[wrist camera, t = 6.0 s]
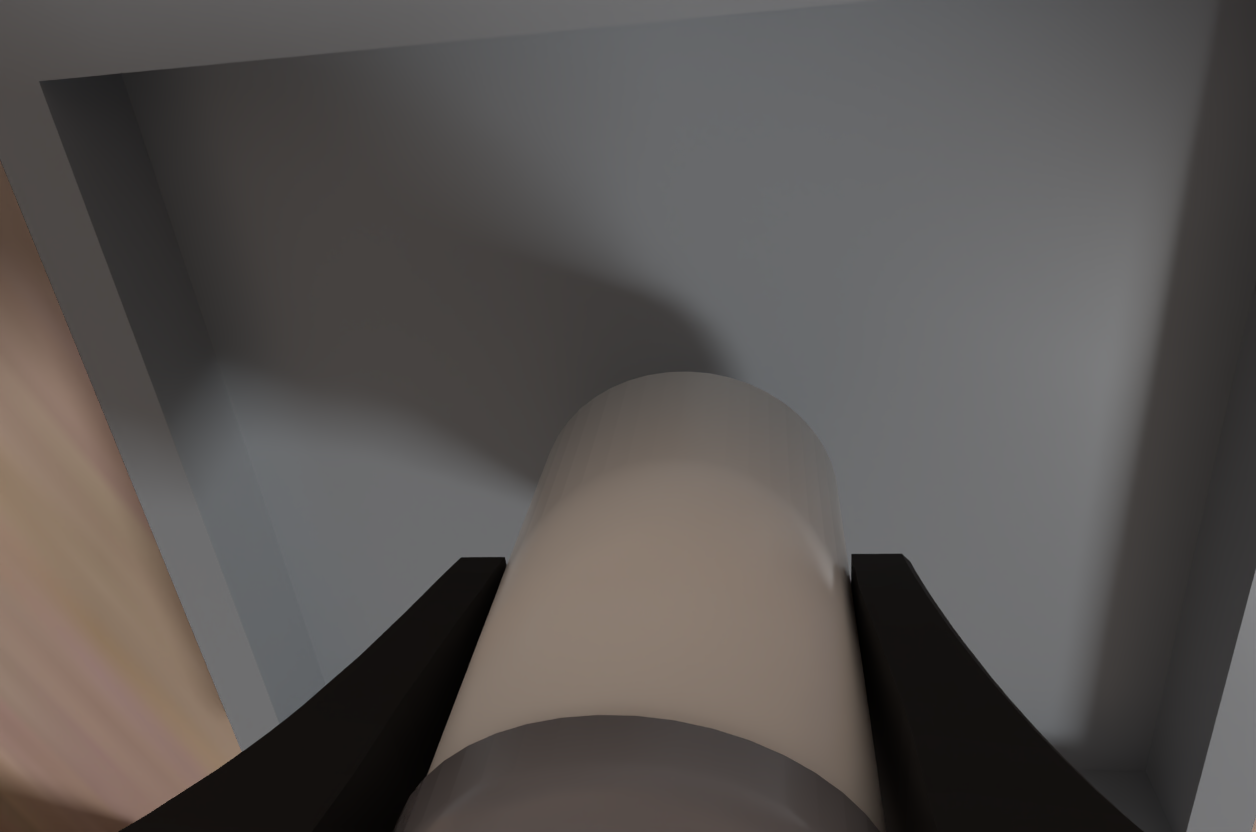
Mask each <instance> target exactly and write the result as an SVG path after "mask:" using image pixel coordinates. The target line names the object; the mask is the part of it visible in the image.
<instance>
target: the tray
mask: <svg viewBox="0 0 1256 832" xmlns="http://www.w3.org/2000/svg"><path fill="white" fill-rule="evenodd" d="M0 160H1V163H2V165H3V168H4V170H5V173H6V175H7V178H8V180H9V182H10V185H11V187H12V190H13V192H14V195H15V197H16V200H17V202H18V205H19V207H20V209H21V212H22V214H23V217H24V219H25V222H26V224H27V227H28V229H29V231H30V234H31V236H32V239H33V241H34V244H35V246H36V249H37V251H38V254H39V256H40V258H41V261H42V263H43V266H44V268H45V271H46V273H47V276H48V278H49V280H50V283H51V285H52V288H53V290H54V293H55V295H56V298H57V300H58V303H59V305H60V307H61V310H62V312H63V315H64V317H65V320H66V322H67V325H68V327H69V329H70V332H71V334H72V337H73V339H74V342H75V344H76V347H77V349H78V352H79V354H80V356H81V359H82V361H83V364H84V366H85V369H86V371H87V374H88V376H89V378H90V381H91V383H92V386H93V388H94V391H95V393H96V396H97V398H98V401H99V403H100V405H101V408H102V410H103V413H104V415H105V418H106V420H107V423H108V425H109V427H110V430H111V432H112V435H113V437H114V440H115V442H116V445H117V447H118V449H119V452H120V454H121V457H122V459H123V462H124V464H125V467H126V469H127V472H128V474H129V476H130V479H131V481H132V484H133V486H134V489H135V491H136V494H137V496H138V498H139V501H140V503H141V506H142V508H143V511H144V513H145V516H146V518H147V521H148V523H149V525H150V528H151V530H152V533H153V535H154V538H155V540H156V543H157V545H158V547H159V550H160V552H161V555H162V557H163V560H164V562H165V565H166V567H167V570H168V572H169V574H170V577H171V579H172V582H173V584H174V587H175V589H176V592H177V594H178V596H179V599H180V601H181V604H182V606H183V609H184V611H185V614H186V616H187V619H188V621H189V623H190V626H191V628H192V631H193V633H194V636H195V638H196V641H197V643H198V645H199V648H200V650H201V653H202V655H203V658H204V660H205V663H206V665H207V668H208V670H209V672H210V675H211V677H212V680H213V682H214V685H215V687H216V690H217V692H218V694H219V697H220V699H221V702H222V704H223V707H224V709H225V712H226V714H227V717H228V719H229V721H230V724H231V726H232V729H233V731H234V734H235V736H236V739H237V741H238V743H239V746H240V748H241V751H242V752H243V751H244V750H245V749H247V748H248V747H249V746H251V745H252V744H253V743H255V742H256V741H258V740H259V739H260V738H262V737H263V736H264V735H266V734H267V733H268V732H270V731H271V730H272V729H274V728H275V727H276V726H277V725H279V724H280V723H281V722H283V721H284V720H285V719H286V718H288V717H289V716H290V715H291V714H293V713H294V712H295V711H296V710H298V709H299V708H300V707H301V706H302V705H304V704H305V703H306V702H307V701H308V700H309V699H311V698H312V697H313V696H314V695H315V694H316V693H317V692H319V691H320V690H321V689H322V688H323V687H324V686H325V685H327V684H328V683H329V682H330V681H331V680H332V679H333V678H335V677H336V676H337V675H338V674H339V673H340V672H341V671H343V670H344V669H345V668H346V667H347V666H348V665H350V664H351V663H352V662H353V661H354V660H355V659H356V658H358V657H359V656H360V655H361V654H362V653H363V652H364V651H365V650H366V649H367V648H368V647H369V646H370V645H371V644H372V643H374V642H375V641H376V640H377V639H378V638H379V637H380V636H381V635H382V634H383V633H384V632H385V631H386V630H387V629H388V628H389V627H390V626H391V625H392V624H393V623H394V622H395V621H396V620H398V619H399V618H400V617H401V616H402V615H403V614H404V613H405V612H406V611H407V610H408V609H409V608H410V607H411V606H412V605H413V604H414V603H415V602H416V601H417V600H418V599H419V598H420V597H421V596H422V595H423V594H424V593H425V592H426V591H427V590H428V589H429V588H430V587H431V586H432V585H433V584H434V583H435V582H436V581H437V580H438V579H439V578H440V577H441V576H442V575H443V574H444V573H445V572H446V571H447V570H448V569H449V568H450V567H451V566H452V565H453V564H454V563H456V562H457V561H458V560H459V559H460V558H461V557H505V560H506V565H507V564H508V561H509V558H510V556H511V553H512V551H513V548H514V545H515V543H516V540H517V537H518V535H519V532H520V530H521V527H522V524H523V522H524V519H525V516H526V514H527V511H528V509H529V506H530V503H531V501H532V498H533V495H534V493H535V490H536V488H537V485H538V482H539V480H540V477H541V474H542V472H543V469H544V467H545V464H546V461H547V459H548V456H549V453H550V451H551V449H552V447H553V445H554V443H555V441H556V439H557V437H558V435H559V434H560V432H561V431H562V429H563V428H564V426H565V425H566V424H567V422H568V421H569V420H570V419H571V418H572V417H573V416H574V415H575V414H576V413H577V412H578V411H579V409H581V408H582V407H583V406H584V405H586V404H587V403H588V402H589V401H591V400H592V399H593V398H595V397H596V396H598V395H600V394H601V393H603V392H605V391H607V390H608V389H610V388H612V387H614V386H617V385H619V384H622V383H624V382H626V381H629V380H632V379H636V378H639V377H643V376H647V375H652V374H659V373H665V372H688V371H689V372H700V373H710V374H715V375H720V376H725V377H730V378H733V379H736V380H739V381H742V382H745V383H748V384H750V385H753V386H755V387H757V388H759V389H761V390H763V391H765V392H767V393H769V394H771V395H772V396H774V397H775V398H777V399H778V400H780V401H782V402H783V403H785V404H786V405H787V406H788V407H790V408H791V409H792V410H793V411H794V412H796V413H797V414H798V415H799V416H800V417H801V418H802V419H803V420H804V421H805V422H806V423H807V424H808V426H809V427H810V428H811V429H812V430H813V431H814V433H815V434H816V436H817V437H818V439H819V440H820V442H821V443H822V445H823V446H824V448H825V450H826V452H827V454H828V456H829V459H830V461H831V463H832V466H833V470H834V473H835V476H836V481H837V488H838V495H839V502H840V509H841V516H842V523H843V530H844V537H845V544H846V552H847V559H848V566H849V573H850V580H851V554H901V553H902V554H903V555H904V556H905V557H906V558H907V559H908V560H909V561H910V562H911V564H912V565H913V567H914V569H915V571H916V572H917V574H918V576H919V577H920V579H921V581H922V582H923V584H924V585H925V587H926V589H927V590H928V592H929V593H930V595H931V596H932V598H933V599H934V601H935V602H936V604H937V605H938V607H939V608H940V609H941V611H942V612H943V614H944V615H945V617H946V618H947V619H948V621H949V622H950V624H951V625H952V627H953V628H954V629H955V631H956V632H957V633H958V635H959V636H960V637H961V639H962V640H963V641H964V643H965V644H966V645H967V647H968V648H969V649H970V650H971V652H972V653H973V654H974V655H975V657H976V658H977V659H978V661H979V662H980V663H981V664H982V666H983V667H984V668H985V669H986V671H987V672H988V673H989V675H990V676H991V677H992V678H993V679H994V681H995V682H996V683H997V684H998V685H999V687H1000V688H1001V689H1002V690H1003V691H1004V693H1005V694H1006V695H1007V696H1008V697H1009V699H1010V700H1011V701H1012V702H1013V703H1014V704H1015V705H1016V706H1017V708H1018V709H1019V710H1020V711H1021V712H1022V713H1023V714H1024V715H1025V717H1026V718H1027V719H1028V720H1029V721H1030V722H1031V723H1032V724H1033V726H1034V727H1035V728H1036V729H1037V730H1038V731H1039V732H1040V733H1041V734H1042V735H1043V736H1044V737H1045V738H1046V739H1047V740H1048V742H1049V743H1050V744H1051V745H1052V746H1053V747H1054V748H1055V749H1056V750H1057V751H1058V752H1059V753H1060V754H1061V755H1062V756H1063V757H1064V758H1065V759H1066V760H1067V761H1068V762H1069V763H1070V764H1071V765H1072V766H1073V767H1074V768H1075V769H1076V770H1077V771H1078V772H1079V773H1080V774H1081V775H1082V776H1083V777H1084V778H1085V779H1086V780H1088V781H1089V782H1090V783H1091V784H1092V785H1093V786H1094V787H1095V788H1096V789H1097V790H1098V791H1099V792H1100V793H1101V794H1102V795H1103V796H1104V797H1106V798H1107V799H1108V800H1109V801H1110V802H1111V803H1112V804H1113V805H1114V806H1116V807H1117V808H1118V809H1119V810H1120V811H1121V812H1122V813H1123V814H1124V815H1125V816H1127V817H1128V818H1129V819H1130V820H1131V821H1132V822H1133V823H1134V824H1135V825H1137V826H1138V827H1139V828H1140V829H1141V830H1143V831H1144V832H1251V831H1252V827H1253V824H1254V821H1255V818H1256V0H0Z"/></svg>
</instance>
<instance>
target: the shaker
mask: <svg viewBox="0 0 1256 832" xmlns="http://www.w3.org/2000/svg"><path fill="white" fill-rule="evenodd" d="M393 832H886V828H885V821H884V814H883V807H882V800H881V793H880V786H879V779H878V771H877V764H876V757H875V750H874V743H873V736H872V729H871V722H870V715H869V708H868V701H867V693H866V686H865V679H864V672H863V665H862V658H861V651H860V644H859V637H858V630H857V623H856V616H855V608H854V601H853V594H852V587H851V580H850V573H849V566H848V559H847V552H846V544H845V537H844V530H843V523H842V516H841V509H840V502H839V495H838V488H837V481H836V476H835V473H834V470H833V466H832V463H831V461H830V459H829V456H828V454H827V452H826V450H825V448H824V446H823V445H822V443H821V442H820V440H819V439H818V437H817V436H816V434H815V433H814V431H813V430H812V429H811V428H810V427H809V426H808V424H807V423H806V422H805V421H804V420H803V419H802V418H801V417H800V416H799V415H798V414H797V413H796V412H794V411H793V410H792V409H791V408H790V407H788V406H787V405H786V404H785V403H783V402H782V401H780V400H778V399H777V398H775V397H774V396H772V395H771V394H769V393H767V392H765V391H763V390H761V389H759V388H757V387H755V386H753V385H750V384H748V383H745V382H742V381H739V380H736V379H733V378H730V377H725V376H720V375H715V374H710V373H700V372H689V371H688V372H665V373H659V374H652V375H647V376H643V377H639V378H636V379H632V380H629V381H626V382H624V383H622V384H619V385H617V386H614V387H612V388H610V389H608V390H607V391H605V392H603V393H601V394H600V395H598V396H596V397H595V398H593V399H592V400H591V401H589V402H588V403H587V404H586V405H584V406H583V407H582V408H581V409H579V411H578V412H577V413H576V414H575V415H574V416H573V417H572V418H571V419H570V420H569V421H568V422H567V424H566V425H565V426H564V428H563V429H562V431H561V432H560V434H559V435H558V437H557V439H556V441H555V443H554V445H553V447H552V449H551V451H550V453H549V456H548V459H547V461H546V464H545V467H544V469H543V472H542V474H541V477H540V480H539V482H538V485H537V488H536V490H535V493H534V495H533V498H532V501H531V503H530V506H529V509H528V511H527V514H526V516H525V519H524V522H523V524H522V527H521V530H520V532H519V535H518V537H517V540H516V543H515V545H514V548H513V551H512V553H511V556H510V558H509V561H508V564H507V566H506V569H505V572H504V574H503V577H502V579H501V582H500V585H499V587H498V590H497V593H496V595H495V598H494V600H493V603H492V606H491V608H490V611H489V614H488V616H487V619H486V621H485V624H484V627H483V629H482V632H481V635H480V637H479V640H478V642H477V645H476V648H475V650H474V653H473V656H472V658H471V661H470V664H469V666H468V669H467V671H466V674H465V677H464V679H463V682H462V685H461V687H460V690H459V692H458V695H457V698H456V700H455V703H454V706H453V708H452V711H451V713H450V716H449V719H448V721H447V724H446V727H445V729H444V732H443V734H442V737H441V740H440V742H439V745H438V748H437V750H436V753H435V755H434V758H433V761H432V763H431V766H430V769H429V771H428V774H427V776H426V777H425V778H424V779H423V780H422V781H421V783H420V784H419V785H418V786H417V788H416V789H415V790H414V791H413V793H412V794H411V795H410V796H409V798H408V800H407V802H406V804H405V806H404V808H403V810H402V812H401V814H400V816H399V818H398V820H397V823H396V825H395V828H394V830H393Z"/></svg>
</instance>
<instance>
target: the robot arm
mask: <svg viewBox="0 0 1256 832" xmlns="http://www.w3.org/2000/svg"><path fill="white" fill-rule="evenodd" d="M506 566H507V565H506V560H505V557H461V558H460V559H459V560H458V561H457V562H456V563H454V564H453V565H452V566H451V567H450V568H449V569H448V570H447V571H446V572H445V573H444V574H443V575H442V576H441V577H440V578H439V579H438V580H437V581H436V582H435V583H434V584H433V585H432V586H431V587H430V588H429V589H428V590H427V591H426V592H425V593H424V594H423V595H422V596H421V597H420V598H419V599H418V600H417V601H416V602H415V603H414V604H413V605H412V606H411V607H410V608H409V609H408V610H407V611H406V612H405V613H404V614H403V615H402V616H401V617H400V618H399V619H398V620H396V621H395V622H394V623H393V624H392V625H391V626H390V627H389V628H388V629H387V630H386V631H385V632H384V633H383V634H382V635H381V636H380V637H379V638H378V639H377V640H376V641H375V642H374V643H372V644H371V645H370V646H369V647H368V648H367V649H366V650H365V651H364V652H363V653H362V654H361V655H360V656H359V657H358V658H356V659H355V660H354V661H353V662H352V663H351V664H350V665H348V666H347V667H346V668H345V669H344V670H343V671H341V672H340V673H339V674H338V675H337V676H336V677H335V678H333V679H332V680H331V681H330V682H329V683H328V684H327V685H325V686H324V687H323V688H322V689H321V690H320V691H319V692H317V693H316V694H315V695H314V696H313V697H312V698H311V699H309V700H308V701H307V702H306V703H305V704H304V705H302V706H301V707H300V708H299V709H298V710H296V711H295V712H294V713H293V714H291V715H290V716H289V717H288V718H286V719H285V720H284V721H283V722H281V723H280V724H279V725H277V726H276V727H275V728H274V729H272V730H271V731H270V732H268V733H267V734H266V735H264V736H263V737H262V738H260V739H259V740H258V741H256V742H255V743H253V744H252V745H251V746H249V747H248V748H247V749H245V750H244V751H243V752H241V753H240V754H238V755H237V756H236V757H234V758H233V759H232V760H230V761H229V762H227V763H226V764H224V765H223V766H222V767H220V768H219V769H217V770H216V771H214V772H213V773H211V774H210V775H208V776H206V777H205V778H203V779H202V780H200V781H199V782H197V783H196V784H194V785H192V786H191V787H189V788H188V789H186V790H185V791H183V792H182V793H180V794H179V795H177V796H175V797H174V798H172V799H171V800H169V801H168V802H166V803H165V804H163V805H161V806H160V807H158V808H157V809H155V810H154V811H152V812H151V813H149V814H148V815H146V816H144V817H143V818H141V819H139V820H138V821H136V822H134V823H133V824H131V825H129V826H127V827H126V828H124V829H122V830H120V831H119V832H393V830H394V828H395V825H396V823H397V820H398V818H399V816H400V814H401V812H402V810H403V808H404V806H405V804H406V802H407V800H408V798H409V796H410V795H411V794H412V793H413V791H414V790H415V789H416V788H417V786H418V785H419V784H420V783H421V781H422V780H423V779H424V778H425V777H426V776H427V774H428V771H429V769H430V766H431V763H432V761H433V758H434V755H435V753H436V750H437V748H438V745H439V742H440V740H441V737H442V734H443V732H444V729H445V727H446V724H447V721H448V719H449V716H450V713H451V711H452V708H453V706H454V703H455V700H456V698H457V695H458V692H459V690H460V687H461V685H462V682H463V679H464V677H465V674H466V671H467V669H468V666H469V664H470V661H471V658H472V656H473V653H474V650H475V648H476V645H477V642H478V640H479V637H480V635H481V632H482V629H483V627H484V624H485V621H486V619H487V616H488V614H489V611H490V608H491V606H492V603H493V600H494V598H495V595H496V593H497V590H498V587H499V585H500V582H501V579H502V577H503V574H504V572H505V569H506ZM851 587H852V594H853V601H854V608H855V616H856V623H857V630H858V637H859V644H860V651H861V658H862V665H863V672H864V679H865V686H866V693H867V701H868V708H869V715H870V722H871V729H872V736H873V743H874V750H875V757H876V764H877V771H878V779H879V786H880V793H881V800H882V807H883V814H884V821H885V828H886V832H1144V831H1143V830H1141V829H1140V828H1139V827H1138V826H1137V825H1135V824H1134V823H1133V822H1132V821H1131V820H1130V819H1129V818H1128V817H1127V816H1125V815H1124V814H1123V813H1122V812H1121V811H1120V810H1119V809H1118V808H1117V807H1116V806H1114V805H1113V804H1112V803H1111V802H1110V801H1109V800H1108V799H1107V798H1106V797H1104V796H1103V795H1102V794H1101V793H1100V792H1099V791H1098V790H1097V789H1096V788H1095V787H1094V786H1093V785H1092V784H1091V783H1090V782H1089V781H1088V780H1086V779H1085V778H1084V777H1083V776H1082V775H1081V774H1080V773H1079V772H1078V771H1077V770H1076V769H1075V768H1074V767H1073V766H1072V765H1071V764H1070V763H1069V762H1068V761H1067V760H1066V759H1065V758H1064V757H1063V756H1062V755H1061V754H1060V753H1059V752H1058V751H1057V750H1056V749H1055V748H1054V747H1053V746H1052V745H1051V744H1050V743H1049V742H1048V740H1047V739H1046V738H1045V737H1044V736H1043V735H1042V734H1041V733H1040V732H1039V731H1038V730H1037V729H1036V728H1035V727H1034V726H1033V724H1032V723H1031V722H1030V721H1029V720H1028V719H1027V718H1026V717H1025V715H1024V714H1023V713H1022V712H1021V711H1020V710H1019V709H1018V708H1017V706H1016V705H1015V704H1014V703H1013V702H1012V701H1011V700H1010V699H1009V697H1008V696H1007V695H1006V694H1005V693H1004V691H1003V690H1002V689H1001V688H1000V687H999V685H998V684H997V683H996V682H995V681H994V679H993V678H992V677H991V676H990V675H989V673H988V672H987V671H986V669H985V668H984V667H983V666H982V664H981V663H980V662H979V661H978V659H977V658H976V657H975V655H974V654H973V653H972V652H971V650H970V649H969V648H968V647H967V645H966V644H965V643H964V641H963V640H962V639H961V637H960V636H959V635H958V633H957V632H956V631H955V629H954V628H953V627H952V625H951V624H950V622H949V621H948V619H947V618H946V617H945V615H944V614H943V612H942V611H941V609H940V608H939V607H938V605H937V604H936V602H935V601H934V599H933V598H932V596H931V595H930V593H929V592H928V590H927V589H926V587H925V585H924V584H923V582H922V581H921V579H920V577H919V576H918V574H917V572H916V571H915V569H914V567H913V565H912V564H911V562H910V561H909V560H908V559H907V558H906V557H905V556H904V555H903V554H902V553H901V554H851Z"/></svg>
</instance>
